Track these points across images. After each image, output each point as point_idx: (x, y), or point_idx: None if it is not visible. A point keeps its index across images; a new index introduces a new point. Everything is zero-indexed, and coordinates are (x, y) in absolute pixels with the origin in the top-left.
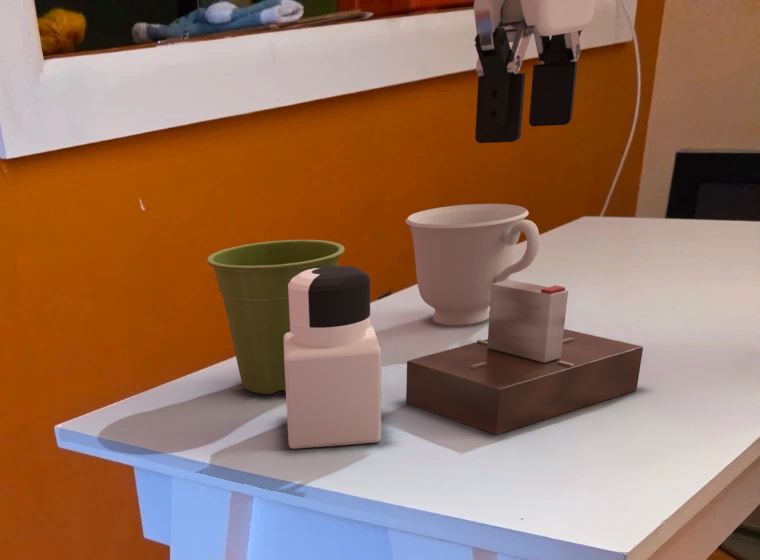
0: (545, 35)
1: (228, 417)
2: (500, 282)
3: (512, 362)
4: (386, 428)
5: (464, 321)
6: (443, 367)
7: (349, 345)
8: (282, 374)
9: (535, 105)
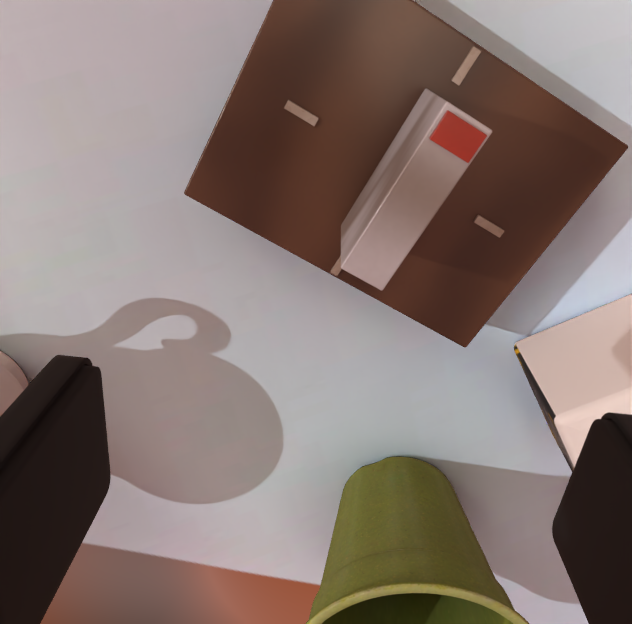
0: None
1: (543, 502)
2: (371, 275)
3: None
4: (571, 302)
5: (15, 368)
6: (501, 280)
7: None
8: (457, 498)
9: (83, 520)
